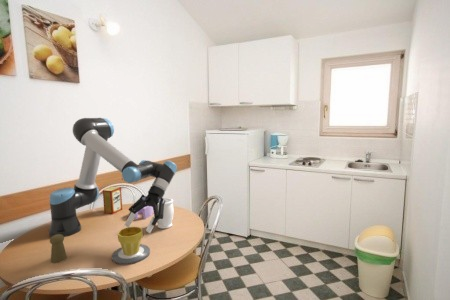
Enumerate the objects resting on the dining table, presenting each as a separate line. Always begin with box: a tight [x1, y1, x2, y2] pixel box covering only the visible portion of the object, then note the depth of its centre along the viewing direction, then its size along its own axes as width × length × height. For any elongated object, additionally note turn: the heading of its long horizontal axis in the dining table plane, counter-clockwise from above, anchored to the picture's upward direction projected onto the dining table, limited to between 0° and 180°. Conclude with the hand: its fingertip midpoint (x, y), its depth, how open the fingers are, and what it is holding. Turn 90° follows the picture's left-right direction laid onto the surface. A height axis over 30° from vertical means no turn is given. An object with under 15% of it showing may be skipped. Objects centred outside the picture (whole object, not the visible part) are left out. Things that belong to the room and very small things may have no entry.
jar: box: [156, 197, 175, 230], centre depth 148 cm, size 11×10×15 cm
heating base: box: [111, 243, 151, 266], centre depth 117 cm, size 16×16×1 cm
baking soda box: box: [102, 186, 123, 215], centre depth 174 cm, size 10×6×16 cm
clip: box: [133, 202, 154, 220], centre depth 170 cm, size 20×12×7 cm, turn 0°
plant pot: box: [117, 226, 144, 255], centre depth 117 cm, size 10×10×10 cm
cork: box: [49, 234, 68, 264], centre depth 114 cm, size 6×6×11 cm
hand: (136, 229), depth 119 cm, fingers open, 13 cm apart
